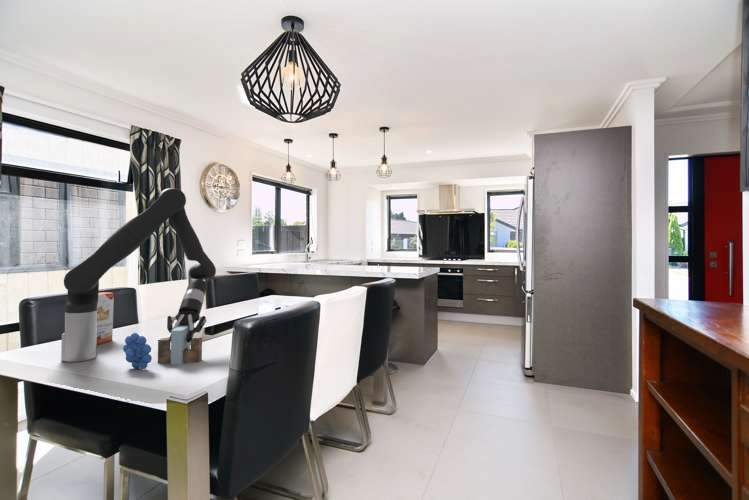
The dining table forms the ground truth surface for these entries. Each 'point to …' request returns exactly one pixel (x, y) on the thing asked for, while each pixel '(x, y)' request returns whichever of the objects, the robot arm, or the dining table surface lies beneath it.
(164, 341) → the brown u-shaped block
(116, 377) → the dining table surface
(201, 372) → the dining table surface
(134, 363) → the grapes
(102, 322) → the cracker box
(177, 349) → the light blue block
